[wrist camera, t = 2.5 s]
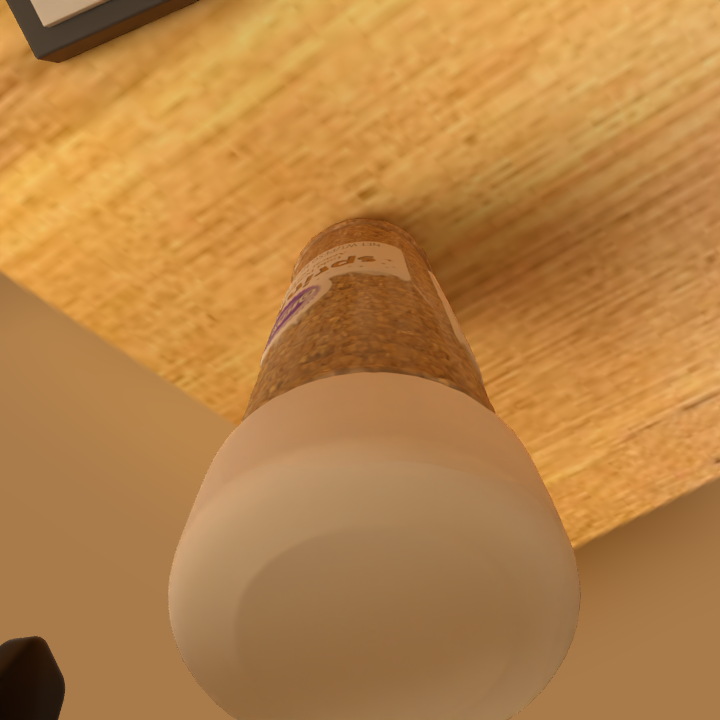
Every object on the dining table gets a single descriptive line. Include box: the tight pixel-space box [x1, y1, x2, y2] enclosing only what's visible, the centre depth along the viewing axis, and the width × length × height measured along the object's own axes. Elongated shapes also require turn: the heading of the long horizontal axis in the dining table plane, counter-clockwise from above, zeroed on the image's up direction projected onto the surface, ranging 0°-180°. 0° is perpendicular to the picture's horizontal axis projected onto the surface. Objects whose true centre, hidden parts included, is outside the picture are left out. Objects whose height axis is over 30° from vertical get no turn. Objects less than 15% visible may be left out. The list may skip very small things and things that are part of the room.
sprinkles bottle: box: [168, 218, 581, 720], centre depth 12 cm, size 5×5×13 cm
